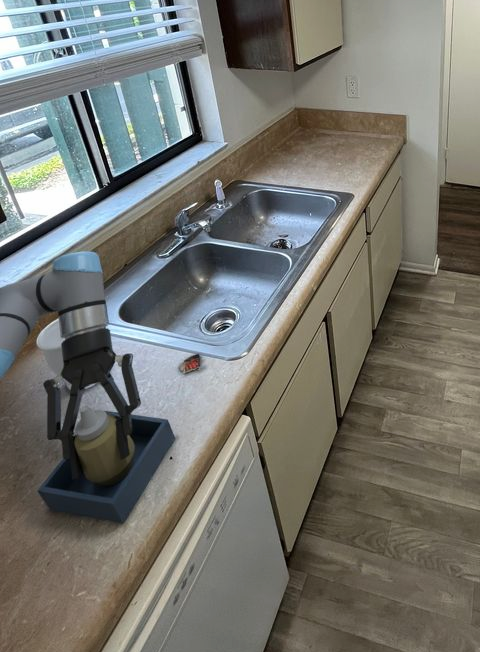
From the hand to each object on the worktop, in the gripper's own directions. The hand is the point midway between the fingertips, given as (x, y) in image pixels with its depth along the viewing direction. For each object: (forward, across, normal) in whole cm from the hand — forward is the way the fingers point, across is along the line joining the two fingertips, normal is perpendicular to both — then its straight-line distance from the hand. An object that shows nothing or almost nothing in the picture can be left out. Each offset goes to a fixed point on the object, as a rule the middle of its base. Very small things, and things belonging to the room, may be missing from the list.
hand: (102, 466), depth 77 cm
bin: (+3, 0, -8) cm, 8 cm away
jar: (-16, +8, -27) cm, 33 cm away
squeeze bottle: (+2, 0, -8) cm, 8 cm away
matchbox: (-11, -14, -22) cm, 28 cm away
